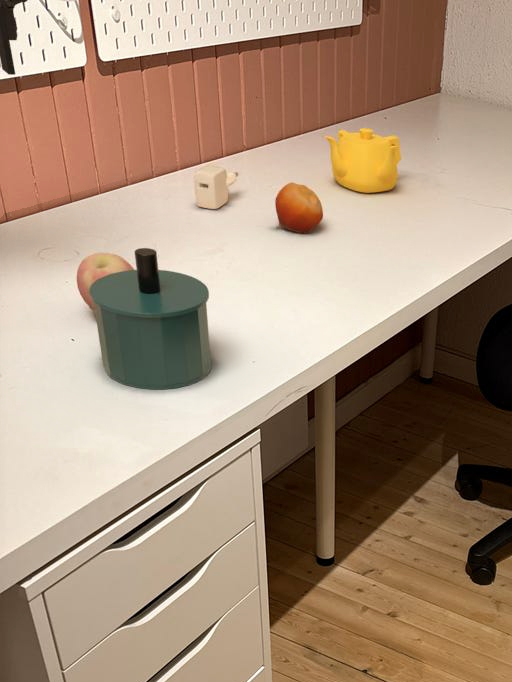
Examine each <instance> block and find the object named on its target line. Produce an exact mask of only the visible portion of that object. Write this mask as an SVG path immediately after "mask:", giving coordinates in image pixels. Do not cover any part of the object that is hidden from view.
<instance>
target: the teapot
mask: <svg viewBox="0 0 512 682" xmlns="http://www.w3.org/2000/svg"><path fill="white" fill-rule="evenodd" d="M323 137H324V138H325V139H326V140H327V142H328V143H329V147H330V164H331V172H332V175H333V177H334V179H335V181H336V182H337V183H338V184H339V185H341V186H343V187H345V188H346V189H349V190H352V191H355V192H360V193H368V194H369V193H380V192H386V191H390V190H392V189H393V188H394V187H395V186H396V184H397V182H398V180H399V179H398V178H399V177H398V176H399V173H398V164H399V163H400V161H402V154H401V146H400V137H398V136H396V135H389V136H385V137H383V136H381V135H378V134H375V133H374V130H373V129H371V128H367V127H361V128H359V132H358V131H357V132H349V131H347V130H345V129H340V130H339V131H337V140H336V139H335V138H334V137H331V136H326V135H324V136H323Z"/></svg>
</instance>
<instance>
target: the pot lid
mask: <svg viewBox="0 0 512 682" xmlns="http://www.w3.org/2000/svg"><path fill="white" fill-rule="evenodd" d="M157 253H158V252H157V250H156V249H153V248H148V247H141V248H137V249H135V250H134V259H135V269H134V270H128V271H122V272H117V273H113V274H109V275H106V276H104V277H102V278H99V279H98V280H96V281H95V282H94V283H93V284H92V285H91V286H90V289H89V294H90V298H91V300H92V301H93V302H94V303H95V304H96V305H97V306H99V307H101V308H103V309H105V310H107V311H110V312H113V313H117V314H121V315H126V316H133V317H146V318H157V317H170V316H176V315H181V314H186V313H189V312H192V311H194V310H197V309H199V308H200V307H202V306H203V305H204V304H205V303H206V304H207V303H208V301H209V299H210V292H209V291H210V290H209V288H208V286H207V285H206V284H205V283H204V282H202V281H201V280H199V279H198V278H196V277H194V276H192V275H188V274H186V273H181V272H177V271H172V270H165V269H159V262H158V254H157Z"/></svg>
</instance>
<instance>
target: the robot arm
mask: <svg viewBox="0 0 512 682" xmlns="http://www.w3.org/2000/svg"><path fill="white" fill-rule="evenodd" d="M26 2H28V0H0V65H1V70H2V71H4V73H6V74H7V75H10V76H11V75H16V69H15V64H14V58H13V54H12V47H11V42H10V41H17V40H18V30H17V25H16V18H15V13H14V9H15V8H16V6H17V5H19V4H21V3H26Z"/></svg>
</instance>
